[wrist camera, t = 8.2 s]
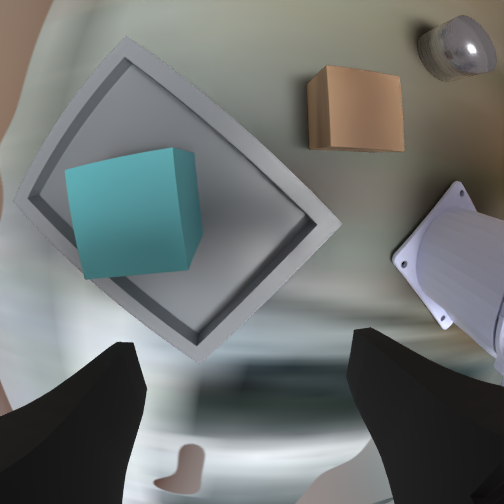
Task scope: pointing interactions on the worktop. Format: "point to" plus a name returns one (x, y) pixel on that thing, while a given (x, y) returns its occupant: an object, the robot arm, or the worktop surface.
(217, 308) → the grey tray
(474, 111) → the worktop surface
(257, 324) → the worktop surface
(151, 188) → the teal block
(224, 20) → the worktop surface
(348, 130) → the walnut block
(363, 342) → the robot arm
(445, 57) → the shiny silver metal cylinder
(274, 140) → the worktop surface
